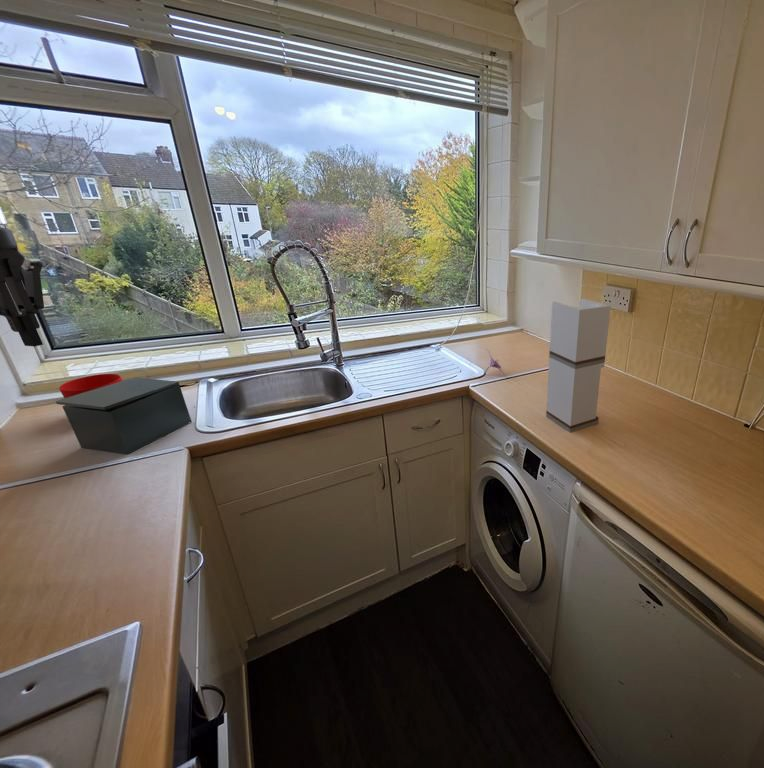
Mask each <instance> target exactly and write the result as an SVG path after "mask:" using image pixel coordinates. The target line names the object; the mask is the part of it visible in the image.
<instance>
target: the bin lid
mask: <svg viewBox="0 0 764 768" xmlns="http://www.w3.org/2000/svg"><path fill="white" fill-rule="evenodd" d="M178 384H179V385H180V382H179V381H176V380H167V379H156V378H145V377H137V376H135V377H131V378H128V379H124V380H122V381H121V382H118V383H114V384H111V385H108V386H104V387H101V388H98V389H94V390H91V391H88V392H84V393H81V394H78V395H74V396H71V397H68V398H64V397H63V398H61V399H57V400H55V404H56V405H60V406H64V405H68V406H77V407H85V408H93V409H101V410H107V409H110V408H112V407H115V406H118V405H121V404H124V403H127V402H130V401H132V400H135V399H138V398H141V397H144V396H147V395H150V394H153V393H155V392H158V391H161V390H164V389H167V388H170V387H173V386H175V385H178Z"/></svg>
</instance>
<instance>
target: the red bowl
mask: <svg viewBox="0 0 764 768" xmlns="http://www.w3.org/2000/svg"><path fill="white" fill-rule="evenodd" d="M121 381H123V378H122V376H121V375H120V374H117V373H101V374H94V375H88V376H82V377H78V378H75V379H72V380H69V381H67V382H64V383H63V384H61V385H59V387H58V388H59V389H58V390H59V391H60V394H61V395H62V397H63V399H64V398H68V397H71V396H74V395H78V394H81V393H84V392H88V391H91V390H94V389H98V388H101V387H104V386H108V385H111V384H114V383H118V382H121Z"/></svg>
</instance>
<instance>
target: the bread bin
mask: <svg viewBox="0 0 764 768" xmlns="http://www.w3.org/2000/svg"><path fill="white" fill-rule="evenodd" d="M61 406H62V409H63V411H64V414H65V416H66V418H67V420H68V422H69V424H70V426H71V429H72V431H73V433H74V435H75V438H76V439H77V442H78V444H79V447H80V448H81V449H87V450H95V451H101V452H107V453H108V452H109V453H115V454H122V455H130V454H133V453H134V452H135V451H137V450H139V449H141V448H143V447H145V446H147V445H149V444H151V443H153V442H155V441H157V440H159V439H161V438H163V437H165V436H167V435H169V434H172V433H173V432H175V431H177V430H179V429H181V428H183V427H185V426H187V425H189V424H190V423H189V422H191V423H192V418H191V414H190V412H189V409H188V406H187V403H186V400H185V397H184V394H183V390H182V388H181V385H180V383H179V384H178V385H175V386H173V387H170V388H167V389H164V390H161V391H158V392H155V393H153V394H150V395H147V396H144V397H141V399H139V400H136V401H134V402H131V403H129V404H126V405H124V406H121V407H119V408H116V409H114V410H101V409H93V408H85V407H77V406H68V405H61ZM188 423H189V424H188ZM186 424H187V425H186ZM182 426H183V427H182Z"/></svg>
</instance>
